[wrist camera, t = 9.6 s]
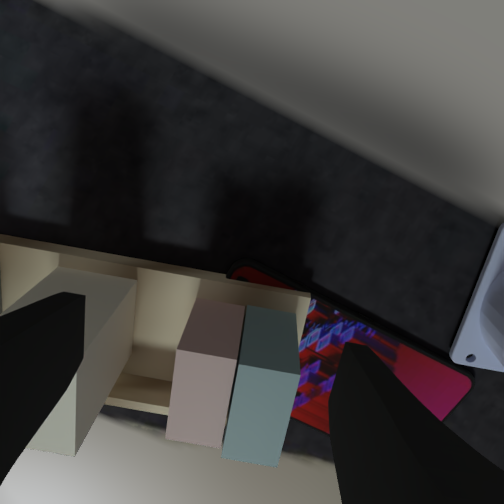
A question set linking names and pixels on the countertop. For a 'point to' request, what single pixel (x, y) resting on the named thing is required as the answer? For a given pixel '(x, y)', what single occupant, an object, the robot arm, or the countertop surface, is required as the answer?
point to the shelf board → (143, 307)
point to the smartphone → (360, 332)
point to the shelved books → (235, 380)
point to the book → (87, 352)
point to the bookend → (0, 295)
